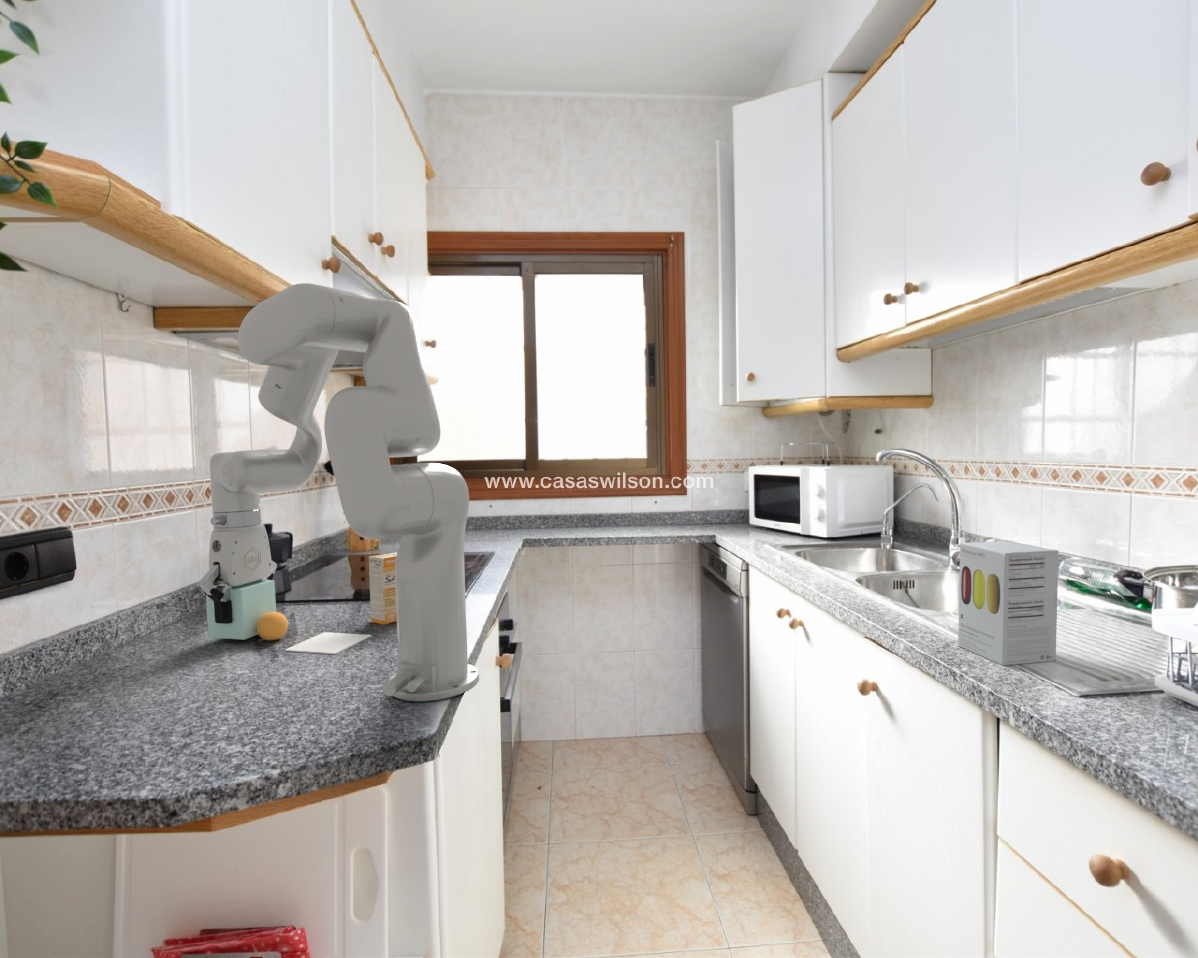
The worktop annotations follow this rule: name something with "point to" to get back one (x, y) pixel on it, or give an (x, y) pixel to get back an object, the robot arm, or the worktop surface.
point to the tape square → (328, 643)
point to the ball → (272, 626)
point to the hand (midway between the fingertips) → (242, 615)
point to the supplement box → (382, 588)
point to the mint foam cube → (243, 610)
